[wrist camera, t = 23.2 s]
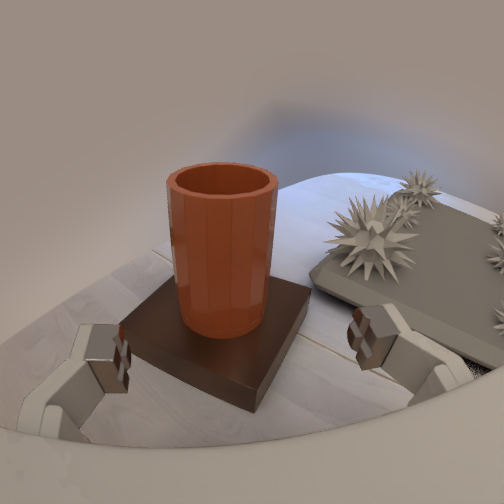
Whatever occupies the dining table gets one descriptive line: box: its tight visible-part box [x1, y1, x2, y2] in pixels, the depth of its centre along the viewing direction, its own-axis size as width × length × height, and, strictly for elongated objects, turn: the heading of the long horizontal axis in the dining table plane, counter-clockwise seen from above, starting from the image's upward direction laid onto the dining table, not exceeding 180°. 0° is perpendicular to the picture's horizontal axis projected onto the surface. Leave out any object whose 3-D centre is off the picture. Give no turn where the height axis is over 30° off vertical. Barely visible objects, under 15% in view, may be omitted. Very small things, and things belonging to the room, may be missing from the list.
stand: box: [119, 275, 312, 413], centre depth 24 cm, size 11×11×3 cm
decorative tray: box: [309, 171, 504, 370], centre depth 32 cm, size 35×26×10 cm
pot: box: [166, 162, 279, 339], centre depth 20 cm, size 6×6×10 cm
